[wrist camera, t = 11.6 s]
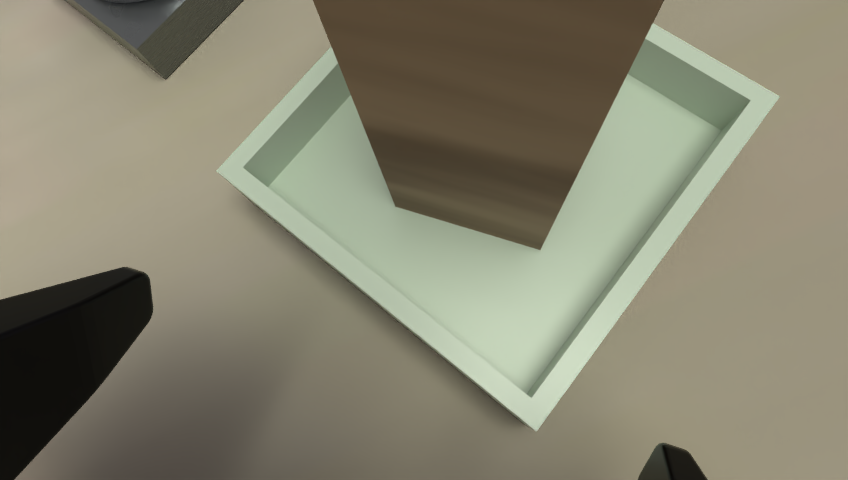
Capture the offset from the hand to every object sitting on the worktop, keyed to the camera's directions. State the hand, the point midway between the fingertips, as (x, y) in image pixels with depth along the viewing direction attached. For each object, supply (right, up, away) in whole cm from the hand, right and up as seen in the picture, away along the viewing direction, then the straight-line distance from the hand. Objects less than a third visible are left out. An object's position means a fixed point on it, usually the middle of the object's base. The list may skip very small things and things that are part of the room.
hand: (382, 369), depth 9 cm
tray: (+3, +5, +11) cm, 12 cm away
